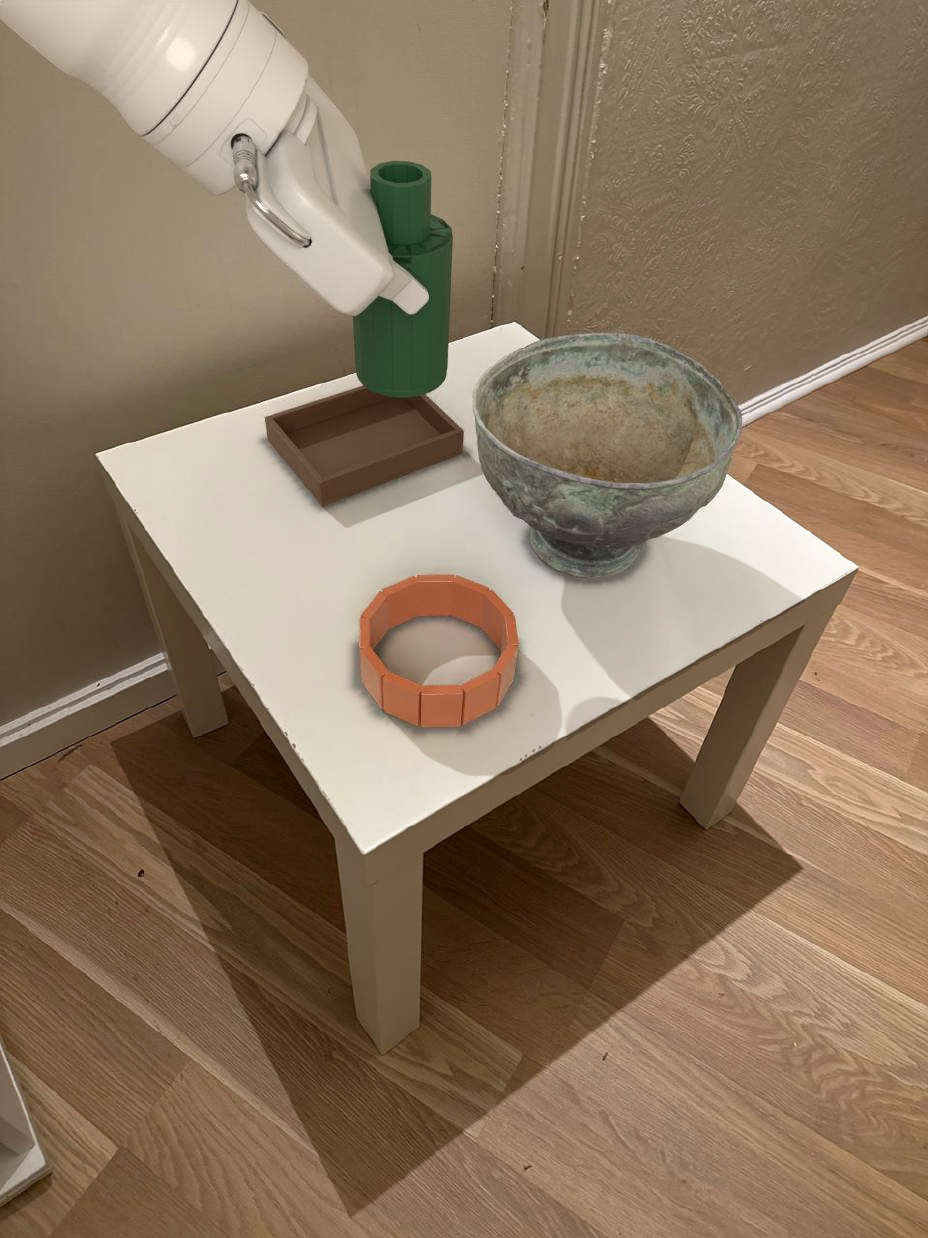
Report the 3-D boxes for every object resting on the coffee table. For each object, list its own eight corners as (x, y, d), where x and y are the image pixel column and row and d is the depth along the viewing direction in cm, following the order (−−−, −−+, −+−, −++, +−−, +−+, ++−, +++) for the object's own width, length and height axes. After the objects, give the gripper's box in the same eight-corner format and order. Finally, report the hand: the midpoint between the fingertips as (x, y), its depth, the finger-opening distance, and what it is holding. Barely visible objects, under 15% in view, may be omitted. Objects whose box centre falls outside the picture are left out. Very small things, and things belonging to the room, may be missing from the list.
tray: (321, 506, 80) (319, 483, 78) (267, 440, 86) (264, 416, 84) (462, 453, 86) (464, 430, 84) (403, 394, 92) (402, 372, 90)
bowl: (428, 513, 80) (431, 366, 69) (597, 448, 87) (625, 306, 76) (559, 661, 69) (588, 516, 58) (738, 572, 77) (795, 429, 65)
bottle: (354, 397, 60) (344, 195, 50) (356, 345, 64) (347, 149, 54) (448, 398, 61) (457, 197, 51) (444, 346, 65) (452, 152, 55)
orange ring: (360, 729, 64) (358, 696, 61) (362, 609, 72) (360, 575, 69) (519, 725, 65) (525, 692, 62) (505, 607, 73) (509, 573, 70)
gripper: (279, 136, 40) (478, 321, 49) (262, 2, 53) (421, 167, 62) (196, 237, 43) (398, 395, 52) (199, 85, 56) (360, 232, 65)
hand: (410, 269), depth 57 cm, fingers closed on bottle, 6 cm apart
